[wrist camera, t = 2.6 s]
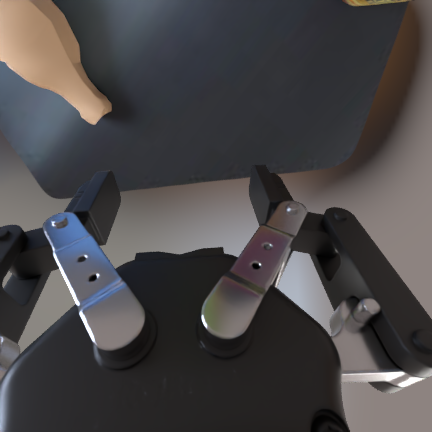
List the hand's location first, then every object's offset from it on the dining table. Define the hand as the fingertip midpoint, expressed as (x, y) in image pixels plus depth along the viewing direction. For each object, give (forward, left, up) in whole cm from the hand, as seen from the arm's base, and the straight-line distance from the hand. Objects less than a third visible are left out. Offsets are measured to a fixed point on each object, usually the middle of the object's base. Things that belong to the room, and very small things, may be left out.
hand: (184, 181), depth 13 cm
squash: (-20, -1, -34) cm, 40 cm away
